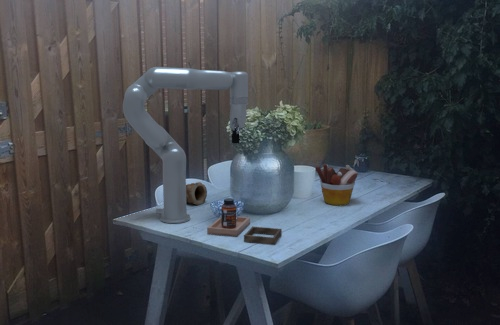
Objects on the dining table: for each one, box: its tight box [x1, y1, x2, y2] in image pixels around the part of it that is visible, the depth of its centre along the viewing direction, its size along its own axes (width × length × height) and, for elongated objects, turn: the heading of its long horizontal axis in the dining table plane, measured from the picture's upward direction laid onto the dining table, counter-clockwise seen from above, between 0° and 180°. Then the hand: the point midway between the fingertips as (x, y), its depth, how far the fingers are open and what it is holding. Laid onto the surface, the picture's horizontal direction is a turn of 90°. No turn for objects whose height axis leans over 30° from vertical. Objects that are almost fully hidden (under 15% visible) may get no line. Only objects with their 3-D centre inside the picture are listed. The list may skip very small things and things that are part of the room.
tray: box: [206, 216, 251, 238], centre depth 209 cm, size 18×12×3 cm, turn 164°
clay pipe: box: [186, 181, 208, 206], centre depth 251 cm, size 19×11×15 cm
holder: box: [243, 226, 283, 246], centre depth 197 cm, size 12×12×2 cm
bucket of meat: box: [315, 163, 359, 206], centre depth 248 cm, size 20×16×20 cm
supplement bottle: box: [220, 197, 237, 228], centre depth 208 cm, size 6×6×11 cm
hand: (239, 141), depth 223 cm, fingers open, 9 cm apart
